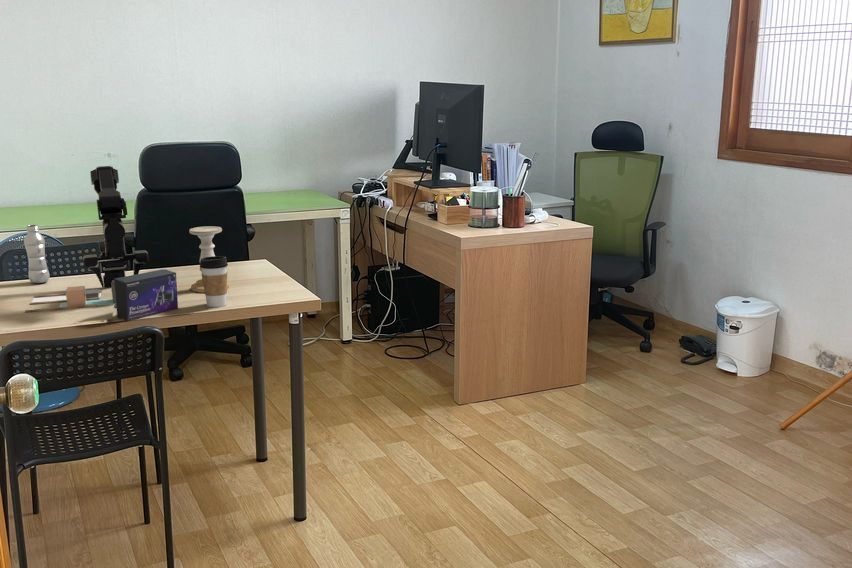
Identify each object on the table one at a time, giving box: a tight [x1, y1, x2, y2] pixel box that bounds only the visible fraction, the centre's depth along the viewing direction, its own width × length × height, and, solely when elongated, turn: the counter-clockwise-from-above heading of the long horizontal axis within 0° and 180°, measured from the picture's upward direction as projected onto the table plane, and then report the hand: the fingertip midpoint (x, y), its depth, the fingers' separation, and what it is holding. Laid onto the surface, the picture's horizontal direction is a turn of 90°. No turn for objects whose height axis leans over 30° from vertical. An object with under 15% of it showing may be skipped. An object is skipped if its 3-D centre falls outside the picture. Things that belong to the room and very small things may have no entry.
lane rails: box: [24, 289, 102, 314], centre depth 258 cm, size 20×19×2 cm
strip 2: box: [58, 280, 116, 308], centre depth 255 cm, size 20×7×7 cm, turn 107°
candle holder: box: [189, 225, 230, 294], centre depth 274 cm, size 12×12×20 cm
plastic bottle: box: [23, 224, 50, 284], centre depth 285 cm, size 6×7×20 cm
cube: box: [65, 285, 88, 307], centre depth 254 cm, size 5×5×5 cm
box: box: [114, 268, 179, 322], centre depth 247 cm, size 17×7×12 cm, turn 139°
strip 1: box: [30, 288, 102, 303], centre depth 262 cm, size 20×7×2 cm, turn 107°
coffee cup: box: [199, 255, 229, 308], centre depth 255 cm, size 8×8×15 cm
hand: (119, 285), depth 257 cm, fingers open, 9 cm apart
